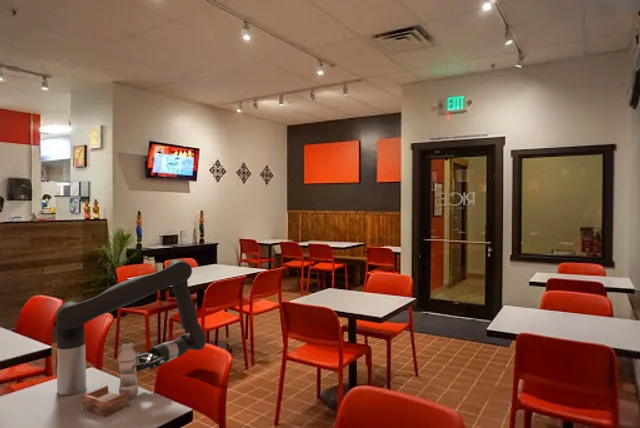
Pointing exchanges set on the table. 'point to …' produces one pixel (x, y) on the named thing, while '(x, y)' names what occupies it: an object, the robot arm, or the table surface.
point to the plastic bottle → (128, 369)
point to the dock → (105, 401)
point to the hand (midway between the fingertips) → (128, 366)
